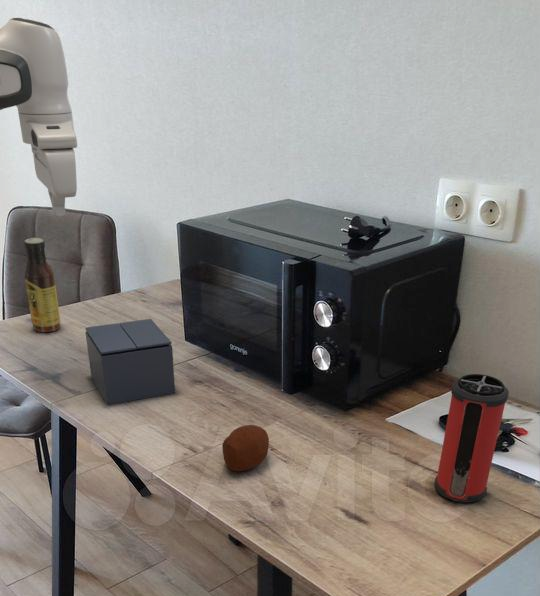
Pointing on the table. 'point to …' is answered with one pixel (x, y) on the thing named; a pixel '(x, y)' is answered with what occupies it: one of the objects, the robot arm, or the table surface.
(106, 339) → the flap
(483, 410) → the speaker
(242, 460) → the potato
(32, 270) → the sauce bottle
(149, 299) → the table surface
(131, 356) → the carton
